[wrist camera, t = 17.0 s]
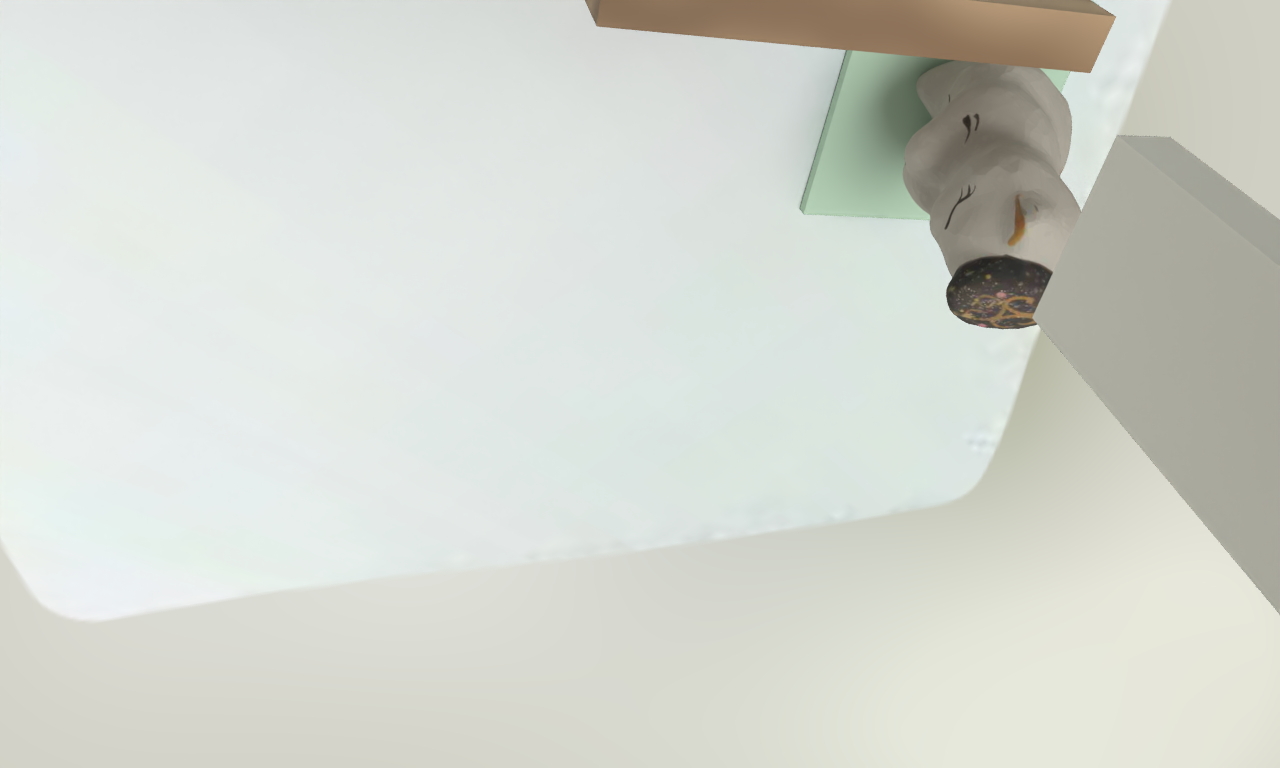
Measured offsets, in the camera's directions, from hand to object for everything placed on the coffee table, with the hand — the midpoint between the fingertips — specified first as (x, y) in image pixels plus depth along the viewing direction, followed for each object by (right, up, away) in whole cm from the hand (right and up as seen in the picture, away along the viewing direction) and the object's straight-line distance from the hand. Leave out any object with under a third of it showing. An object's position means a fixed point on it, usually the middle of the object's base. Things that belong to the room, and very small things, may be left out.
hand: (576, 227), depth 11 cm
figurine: (+16, +12, +38) cm, 43 cm away
